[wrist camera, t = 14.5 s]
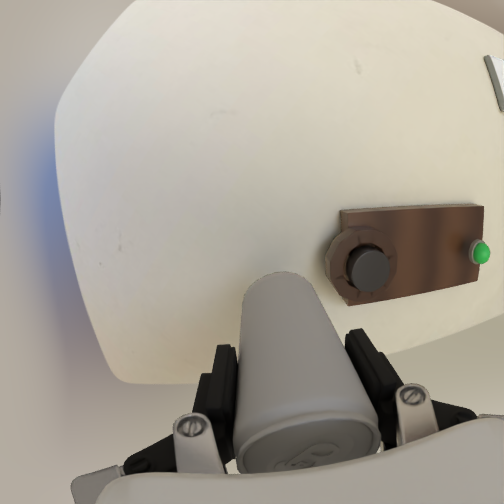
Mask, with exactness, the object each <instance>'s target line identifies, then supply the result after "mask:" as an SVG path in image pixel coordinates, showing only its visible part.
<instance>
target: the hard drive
mask: <svg viewBox="0 0 504 504" xmlns="http://www.w3.org/2000/svg"><path fill="white" fill-rule="evenodd" d="M484 60H485V63H486V65H487V68H488V71H489V74H490V77H491V80H492V83H493V86H494V89H495V93H496V96H497V100H498V104H499V108H500V110H501V111H504V60H502V59H500V58H497V57H494V56H491V55H487V56H485V57H484Z"/></svg>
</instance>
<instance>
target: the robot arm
mask: <svg viewBox="0 0 504 504" xmlns="http://www.w3.org/2000/svg"><path fill="white" fill-rule="evenodd" d="M345 350H346V352H347V354H348V356H349V358H350V360H351V362H352V364H353V366H354V368H355V370H356V372H357V374H358V376H359V378H360V380H361V382H362V384H363V386H364V388H365V391H366V393H367V395H368V397H369V399H370V401H371V403H372V405H373V407H374V410H375V412H376V414H377V416H378V430H379V431H380V433H381V444H380V447H381V452H380V453H376V454H373V455H369V456H365V457H361V458H357V459H353V460H349V461H344V462H340V463H335V464H330V465H324V466H318V467H312V468H306V469H298V470H290V471H281V472H270V473H254V474H228V472H227V469H226V466H225V464H227V463H228V462H230V461H231V460H232V459H236V456H235V454H234V448H233V428H234V414H235V399H236V385H237V370H238V363H237V357H236V351H235V347H231V346H230V344H225V345H217V349H216V354H215V359H214V364H213V369H212V373H202V374H201V377H200V381H199V386H198V389H197V393H196V398H195V402H194V406H193V410H192V413H188V414H185V415H182V416H181V417H179V418H178V419H177V420H176V421H175V423H174V424H173V434H171V435H169V436H168V437H166V438H164V439H162V440H160V441H158V442H157V443H155V444H153V445H151V446H149V447H147V448H145V449H143V450H141V451H139V452H137V453H135V454H133V455H131V456H130V457H128V458H127V460H126V461H125V462H124V465H123V466H120V467H118V466H117V465H114V466H111V467H109V468H105V469H102V470H99V471H95V472H92V473H89V474H85V475H81V476H79V477H77V478H75V479H74V480H73V481H72V483H71V492H72V495H73V498H74V501H75V504H504V415H490V414H489V415H488V414H479V416H476V414H475V413H474V412H473V411H472V410H470V409H467V408H463V407H459V406H454V405H450V404H446V403H442V402H438V401H434V400H431V398H430V395H429V392H428V391H427V389H426V388H425V387H423V386H421V385H419V384H412V383H411V384H405V385H404V384H403V382H402V381H401V379H400V378H399V376H398V375H397V373H396V371H395V370H394V368H393V367H392V365H391V364H390V362H389V361H388V359H387V358H386V356H385V355H384V354H383V352H378V351H377V350H376V348H375V347H374V345H373V344H372V342H371V341H370V339H369V338H368V336H367V335H366V333H365V332H364V330H363V329H362V328H360V329H354V330H350V332H349V334H346V337H345Z"/></svg>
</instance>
